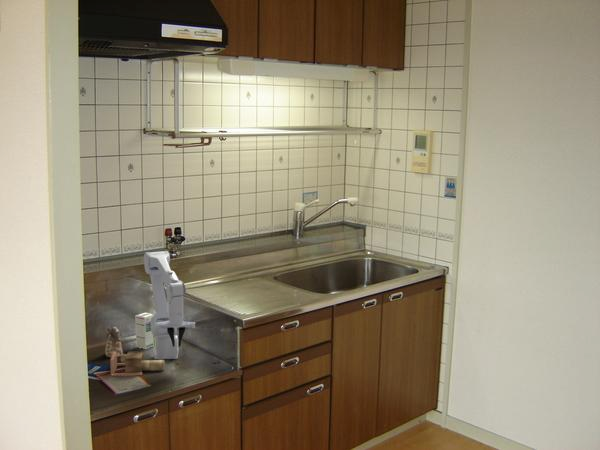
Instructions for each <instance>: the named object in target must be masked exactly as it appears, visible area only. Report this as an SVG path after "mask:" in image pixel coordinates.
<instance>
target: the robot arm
mask: <svg viewBox="0 0 600 450" xmlns="http://www.w3.org/2000/svg"><path fill="white" fill-rule="evenodd" d="M170 263H171V255H170V252H168V250H164V251H163V250H162V251H153V252H151V251H150V252H149V251H146V252H145V253H144V255H143V266H144V270H145V274H147V275H149V277H150V281H151V283H150V284H151V287H152V288H151V289H152V294H153V300H154V301H153V303H154V307H155V314H154V316H153V317H152V318H151V333H152V335H153V336H155V346H154V347H155V352H154V355H153V356H154V357H153V360H174V359H175V360H177V359H178V357H179V353H180V351H179V350H180V349H179V347H181V346H182V345H181V344H182V339H183V337H184V334H185V331H186V329H196V322H193V321H184V314H185V313H184V297H185V296H186V292H187V291H186V286H185V282H184V281H183V280H179V278H178V276H177V273H176V272H175V271H174V270H171V267H170ZM164 286H165V287H164ZM165 292H166V293H165ZM167 302H168V305H167ZM177 330H178V331H177ZM177 332H178V335H177V334H176V333H177Z"/></svg>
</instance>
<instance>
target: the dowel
mask: <svg viewBox="0 0 600 450" xmlns="http://www.w3.org/2000/svg"><path fill="white" fill-rule="evenodd" d="M143 360H144V359H143ZM141 362H142V372H144V371H145V372H146V371H147V372H150V371H151V372H153V371H165V364H166V363H165V359H150V360H144V361H141Z"/></svg>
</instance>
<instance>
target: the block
mask: <svg viewBox="0 0 600 450" xmlns="http://www.w3.org/2000/svg"><path fill="white" fill-rule="evenodd" d="M141 361H144V351H143V350H141V351H140V350H137V351H133V350H132V351H127V356H126V358H125V362H124V363H125V366H124V367H125V372H124V373H142V374H143V371H142V362H141Z"/></svg>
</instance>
